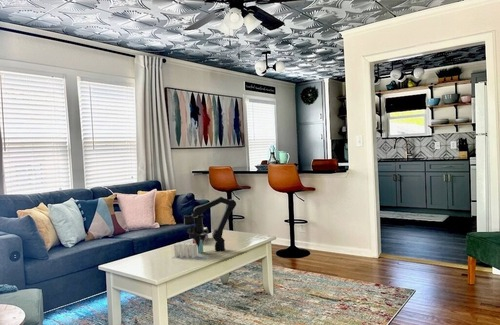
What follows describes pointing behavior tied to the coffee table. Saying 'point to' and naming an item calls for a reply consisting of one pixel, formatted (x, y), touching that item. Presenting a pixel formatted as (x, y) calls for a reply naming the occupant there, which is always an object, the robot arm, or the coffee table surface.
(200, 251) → the domino
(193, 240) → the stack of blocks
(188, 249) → the domino
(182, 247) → the domino
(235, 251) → the coffee table surface
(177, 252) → the domino
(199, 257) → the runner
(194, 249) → the domino
